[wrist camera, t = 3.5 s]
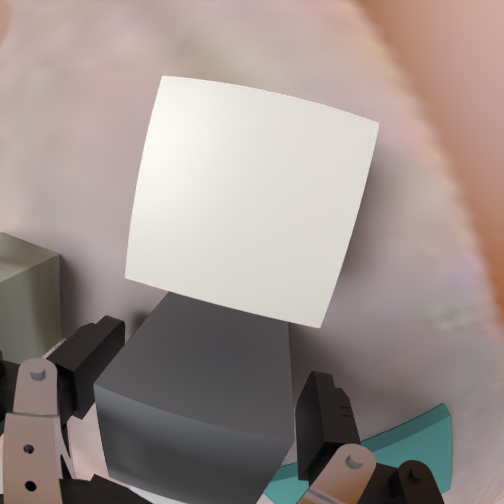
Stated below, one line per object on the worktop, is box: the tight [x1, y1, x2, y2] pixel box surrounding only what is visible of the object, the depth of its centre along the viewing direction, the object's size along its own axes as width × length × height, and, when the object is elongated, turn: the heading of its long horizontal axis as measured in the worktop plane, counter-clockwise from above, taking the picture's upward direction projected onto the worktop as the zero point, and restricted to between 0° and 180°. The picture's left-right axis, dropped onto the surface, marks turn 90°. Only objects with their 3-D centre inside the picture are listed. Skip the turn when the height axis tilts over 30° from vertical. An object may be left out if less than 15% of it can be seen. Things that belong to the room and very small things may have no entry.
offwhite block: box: [125, 76, 379, 328], centre depth 8 cm, size 4×4×4 cm
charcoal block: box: [93, 291, 295, 504], centre depth 9 cm, size 4×4×6 cm
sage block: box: [0, 232, 63, 365], centre depth 10 cm, size 4×4×4 cm
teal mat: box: [263, 404, 451, 504], centre depth 13 cm, size 11×11×1 cm
